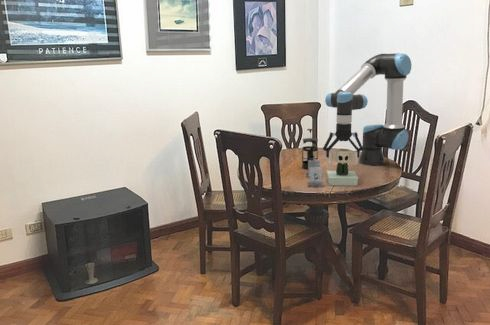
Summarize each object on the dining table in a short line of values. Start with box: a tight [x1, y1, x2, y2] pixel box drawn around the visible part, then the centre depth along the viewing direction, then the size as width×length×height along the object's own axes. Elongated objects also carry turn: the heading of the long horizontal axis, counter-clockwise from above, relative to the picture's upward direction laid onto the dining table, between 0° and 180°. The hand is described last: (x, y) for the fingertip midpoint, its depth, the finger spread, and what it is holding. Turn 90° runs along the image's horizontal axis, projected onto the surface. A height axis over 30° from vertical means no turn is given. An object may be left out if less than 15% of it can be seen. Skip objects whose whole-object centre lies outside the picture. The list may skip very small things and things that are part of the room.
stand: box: [326, 170, 359, 187], centre depth 236 cm, size 15×15×4 cm
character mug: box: [331, 148, 355, 175], centre depth 234 cm, size 11×7×13 cm, turn 86°
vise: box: [305, 159, 325, 188], centre depth 238 cm, size 8×25×9 cm, turn 175°
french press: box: [301, 128, 319, 170], centre depth 264 cm, size 12×9×23 cm
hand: (342, 163), depth 234 cm, fingers open, 13 cm apart
